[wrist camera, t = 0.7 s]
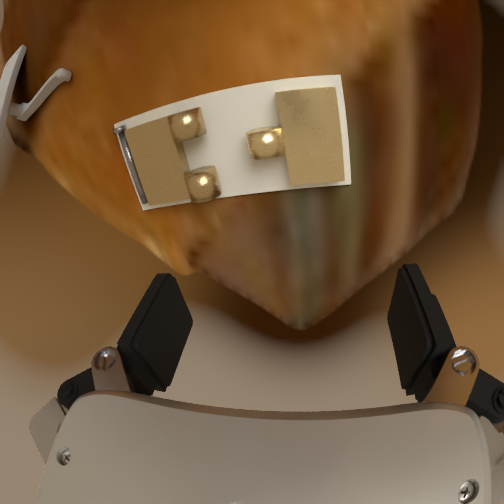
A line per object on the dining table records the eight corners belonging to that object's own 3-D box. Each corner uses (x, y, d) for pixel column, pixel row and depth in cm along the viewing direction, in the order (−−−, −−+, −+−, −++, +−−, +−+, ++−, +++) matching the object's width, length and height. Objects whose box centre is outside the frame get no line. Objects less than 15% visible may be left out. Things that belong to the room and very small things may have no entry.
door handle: (32, 72, 32) (16, 155, 34) (6, 63, 24) (-17, 151, 26) (85, 28, 28) (65, 118, 29) (56, 11, 20) (25, 106, 21)
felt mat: (115, 123, 34) (113, 124, 34) (339, 74, 27) (340, 74, 26) (144, 209, 42) (143, 210, 42) (350, 183, 35) (351, 184, 35)
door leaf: (241, 97, 30) (234, 99, 27) (332, 86, 28) (338, 87, 24) (258, 182, 37) (254, 195, 33) (342, 174, 34) (347, 187, 31)
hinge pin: (117, 127, 34) (110, 130, 32) (127, 123, 33) (120, 126, 32) (142, 201, 41) (136, 207, 39) (152, 199, 40) (146, 205, 39)
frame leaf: (132, 127, 34) (116, 134, 30) (204, 105, 31) (193, 109, 28) (156, 199, 40) (143, 212, 37) (225, 187, 38) (217, 200, 34)
